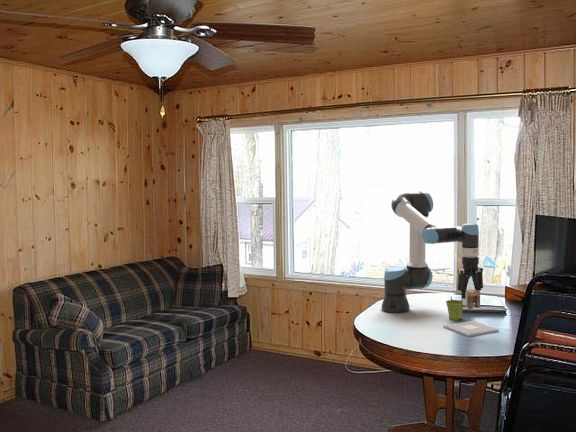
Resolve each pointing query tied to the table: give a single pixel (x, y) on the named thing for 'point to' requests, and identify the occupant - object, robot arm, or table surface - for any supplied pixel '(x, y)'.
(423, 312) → the table surface
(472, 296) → the notched wooden block
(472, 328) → the mat
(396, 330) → the table surface
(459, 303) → the plant pot
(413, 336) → the table surface
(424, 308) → the table surface
